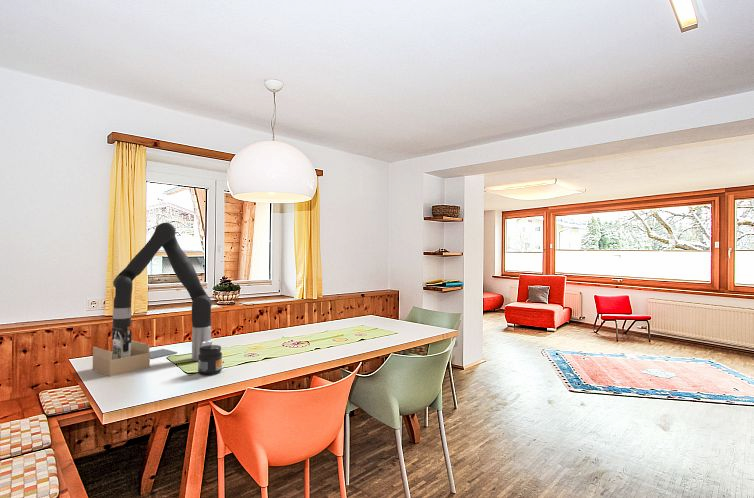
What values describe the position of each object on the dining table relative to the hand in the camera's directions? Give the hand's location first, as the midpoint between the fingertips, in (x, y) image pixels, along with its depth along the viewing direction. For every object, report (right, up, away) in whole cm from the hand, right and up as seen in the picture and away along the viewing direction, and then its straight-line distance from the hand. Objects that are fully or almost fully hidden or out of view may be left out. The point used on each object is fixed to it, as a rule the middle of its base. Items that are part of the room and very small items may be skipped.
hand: (121, 350), depth 194 cm
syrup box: (0, -9, 0) cm, 9 cm away
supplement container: (+45, -9, -6) cm, 47 cm away
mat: (+3, -9, +27) cm, 28 cm away
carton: (0, -9, 0) cm, 9 cm away
